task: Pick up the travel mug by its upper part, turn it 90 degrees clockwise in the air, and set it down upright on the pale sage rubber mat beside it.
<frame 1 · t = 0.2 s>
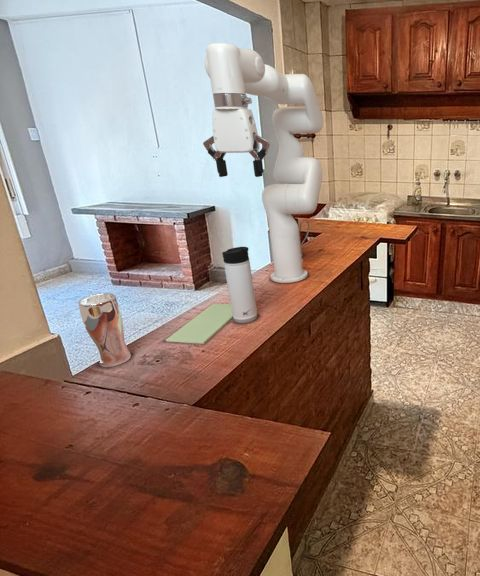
hand: (241, 176, 102), 37 cm above the worktop, tool pointing down, fingers open, 9 cm apart
beer glass: (115, 360, 89), on the worktop
travel mug: (246, 319, 108), on the worktop
sage mat: (209, 322, 106), on the worktop
glass holder: (297, 255, 163), on the worktop
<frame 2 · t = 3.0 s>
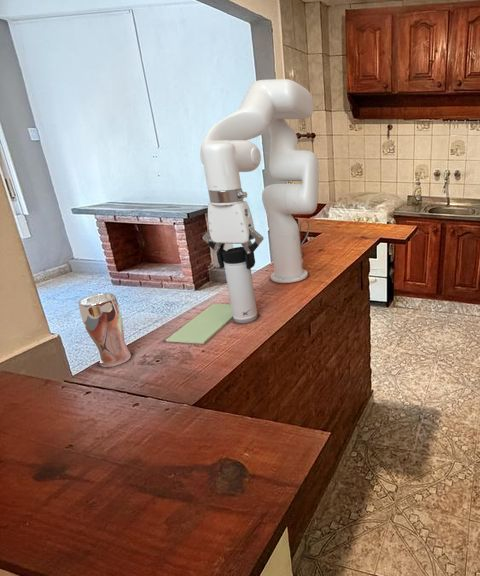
hand: (237, 266, 102), 15 cm above the worktop, tool pointing down, fingers closed on travel mug, 6 cm apart
travel mug: (246, 319, 108), on the worktop, touching gripper
everything else where it was.
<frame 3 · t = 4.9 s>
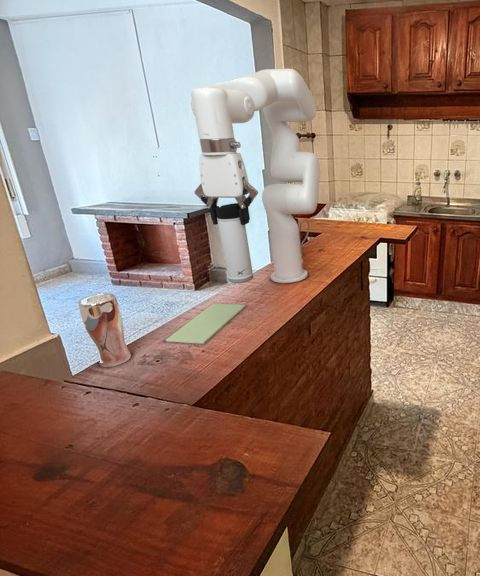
hand: (231, 223, 98), 26 cm above the worktop, tool pointing down, fingers closed on travel mug, 6 cm apart
travel mug: (241, 280, 105), point 11 cm above the worktop, touching gripper
everything else where it was.
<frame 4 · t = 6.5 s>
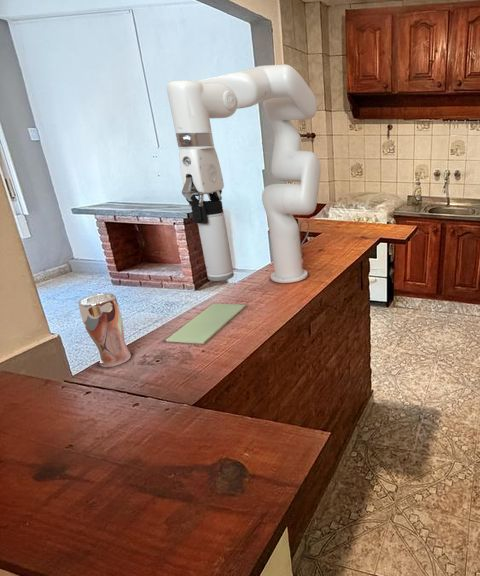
hand: (209, 219, 97), 28 cm above the worktop, tool pointing down, fingers closed on travel mug, 6 cm apart
travel mug: (220, 278, 102), point 12 cm above the worktop, touching gripper
everything else where it was.
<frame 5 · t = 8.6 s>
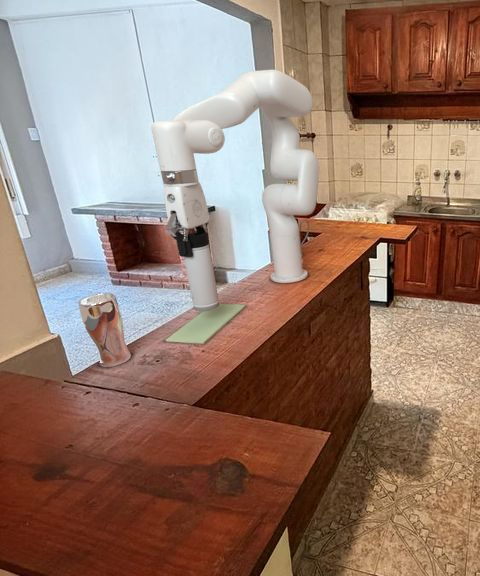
hand: (195, 251, 99), 20 cm above the worktop, tool pointing down, fingers closed on travel mug, 6 cm apart
travel mug: (206, 307, 104), point 4 cm above the worktop, touching gripper
everything else where it was.
when the fingers open (16 cm above the worktop, at t = 10.2 s): travel mug stays where it is, resting on sage mat.
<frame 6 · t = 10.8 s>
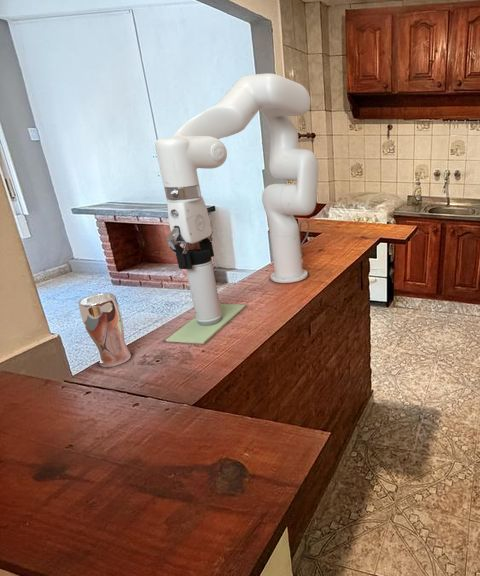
hand: (197, 262, 100), 17 cm above the worktop, tool pointing down, fingers open, 9 cm apart
travel mug: (209, 321, 106), resting on sage mat
everything else where it was.
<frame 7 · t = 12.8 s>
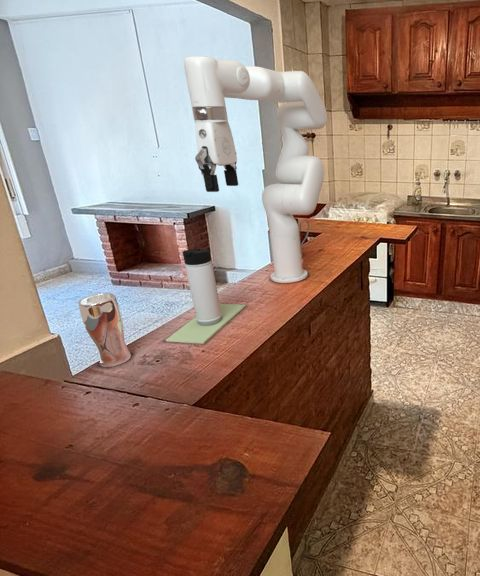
hand: (223, 188, 102), 34 cm above the worktop, tool pointing down, fingers open, 9 cm apart
nothing on the worktop moved.
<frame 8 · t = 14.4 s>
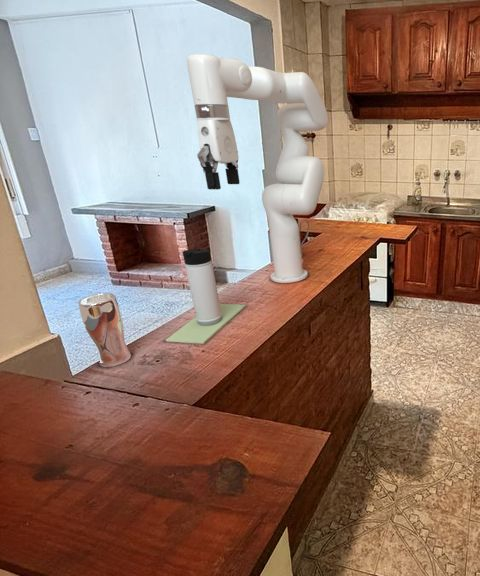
hand: (224, 186, 102), 34 cm above the worktop, tool pointing down, fingers open, 9 cm apart
nothing on the worktop moved.
at the end: travel mug inside the target area on the sage mat (0.4 cm from its centre), point 0.3 cm above the sage mat's base; travel mug tilted 0°; the gripper is holding nothing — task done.
